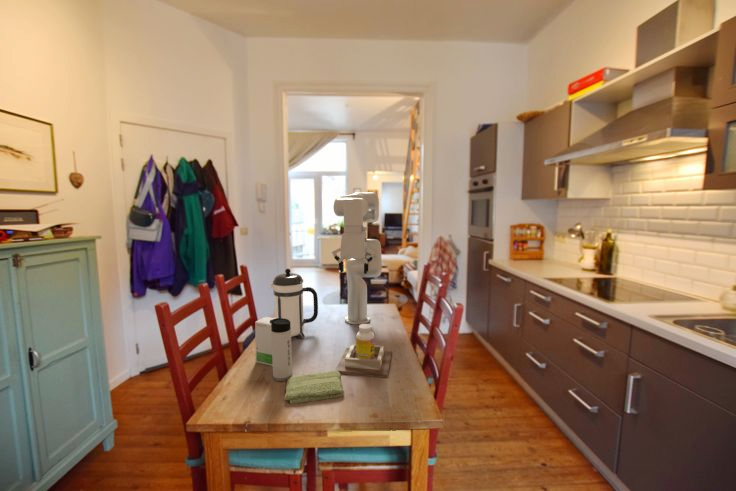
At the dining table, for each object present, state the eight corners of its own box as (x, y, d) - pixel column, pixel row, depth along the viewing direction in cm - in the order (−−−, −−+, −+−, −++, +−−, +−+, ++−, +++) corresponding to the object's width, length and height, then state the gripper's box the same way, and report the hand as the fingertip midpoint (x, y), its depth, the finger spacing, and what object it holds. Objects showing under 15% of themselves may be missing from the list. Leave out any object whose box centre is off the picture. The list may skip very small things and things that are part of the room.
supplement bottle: (372, 365, 115) (372, 330, 113) (354, 363, 116) (354, 328, 115) (375, 356, 121) (375, 323, 120) (358, 354, 123) (358, 322, 121)
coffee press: (292, 346, 133) (290, 274, 129) (264, 338, 141) (262, 270, 137) (319, 331, 148) (317, 266, 144) (292, 325, 156) (290, 263, 152)
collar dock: (346, 349, 129) (346, 340, 129) (391, 353, 126) (392, 343, 126) (335, 373, 111) (334, 362, 111) (387, 377, 109) (387, 366, 108)
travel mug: (270, 374, 111) (268, 317, 108) (290, 370, 113) (288, 315, 111) (273, 383, 105) (270, 324, 103) (293, 379, 108) (292, 321, 105)
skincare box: (255, 362, 119) (253, 321, 117) (266, 354, 125) (265, 315, 123) (274, 366, 116) (272, 324, 114) (285, 358, 122) (283, 318, 120)
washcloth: (286, 382, 107) (286, 373, 106) (340, 377, 110) (340, 368, 109) (284, 406, 94) (283, 396, 93) (345, 399, 97) (345, 389, 97)
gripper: (376, 229, 130) (376, 271, 132) (334, 229, 133) (335, 270, 135) (373, 231, 123) (373, 275, 125) (329, 230, 125) (330, 274, 127)
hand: (353, 272), depth 130 cm, fingers open, 9 cm apart
